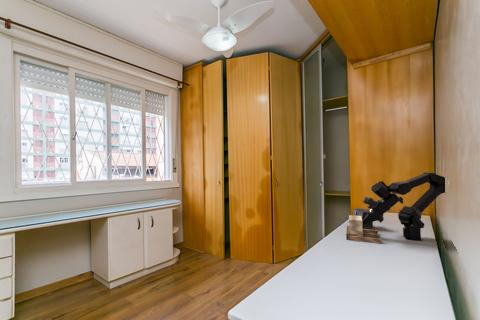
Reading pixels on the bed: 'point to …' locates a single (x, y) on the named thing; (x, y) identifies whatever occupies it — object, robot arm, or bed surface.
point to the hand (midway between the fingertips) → (362, 223)
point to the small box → (363, 214)
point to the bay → (365, 236)
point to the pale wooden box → (355, 226)
